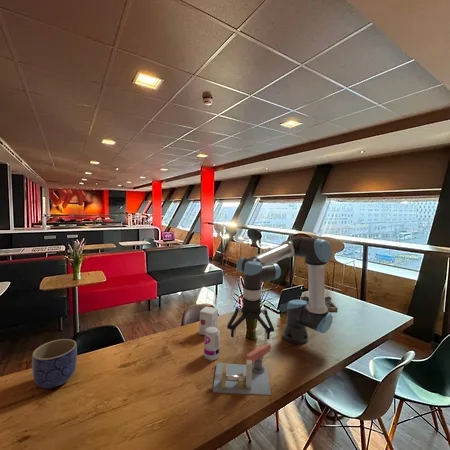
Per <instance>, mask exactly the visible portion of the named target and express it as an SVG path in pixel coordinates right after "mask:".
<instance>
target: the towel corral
mask: <svg viewBox="0 0 450 450" xmlns="http://www.w3.org/2000/svg"><path fill="white" fill-rule="evenodd" d="M300 297H301V300H305V299H304V298H305V297H304V296H300ZM326 307H327V308H328V312H333V311H336V312H338V307H337V306H336V305H335V304H334V303H333V301H331V304H330V305H329V306H326ZM336 312H335V313H336Z"/></svg>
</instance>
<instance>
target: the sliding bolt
mask: <svg viewBox="0 0 450 450" xmlns="http://www.w3.org/2000/svg"><path fill="white" fill-rule="evenodd" d="M245 363H246V364H245V365H246V376H239V375H226V381H234V382H239V379H243V382H246V388H250V389H251V386H252V365H253V363H252V360H247V362H246V361H245ZM214 380H220V381H222V374H215V373H214V379H213V381H214Z"/></svg>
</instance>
